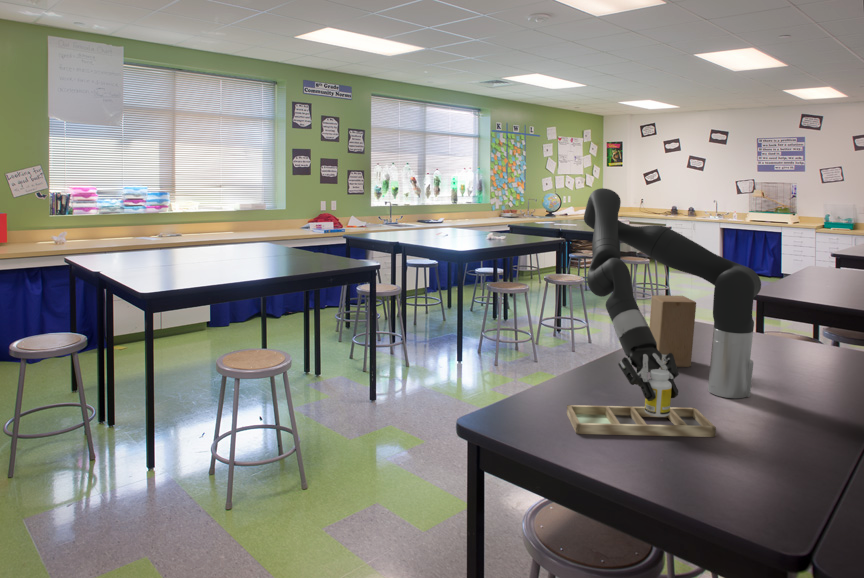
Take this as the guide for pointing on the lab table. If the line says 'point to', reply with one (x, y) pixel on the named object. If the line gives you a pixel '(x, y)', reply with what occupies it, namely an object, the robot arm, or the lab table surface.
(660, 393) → the supplement bottle
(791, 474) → the lab table surface
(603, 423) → the wooden compartment tray
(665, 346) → the wooden block
